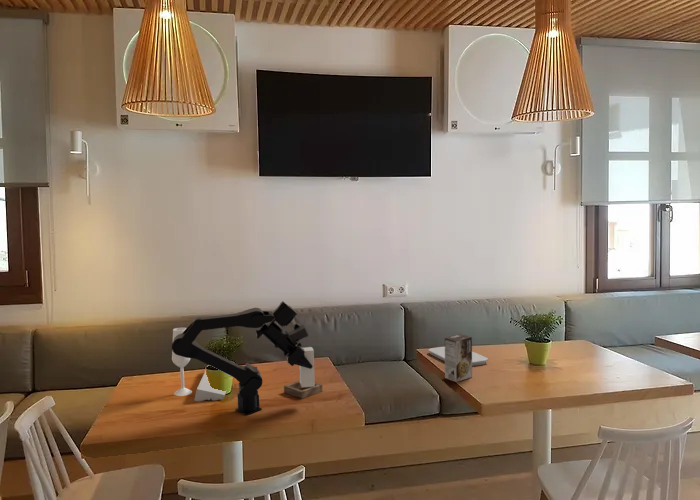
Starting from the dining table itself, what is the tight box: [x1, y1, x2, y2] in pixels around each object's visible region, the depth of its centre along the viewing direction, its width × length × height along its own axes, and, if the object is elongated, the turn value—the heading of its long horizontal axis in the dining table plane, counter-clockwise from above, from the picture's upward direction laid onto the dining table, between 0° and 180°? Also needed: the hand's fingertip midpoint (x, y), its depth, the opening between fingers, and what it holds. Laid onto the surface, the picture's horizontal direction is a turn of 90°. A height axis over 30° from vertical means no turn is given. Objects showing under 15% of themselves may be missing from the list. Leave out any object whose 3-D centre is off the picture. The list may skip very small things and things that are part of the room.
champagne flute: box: [171, 327, 193, 397], centre depth 208 cm, size 7×7×24 cm
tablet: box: [428, 345, 489, 367], centre depth 246 cm, size 16×26×2 cm, turn 21°
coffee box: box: [444, 333, 473, 383], centre depth 219 cm, size 9×6×16 cm
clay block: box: [298, 346, 316, 388], centre depth 194 cm, size 4×4×12 cm
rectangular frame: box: [283, 380, 323, 400], centre depth 207 cm, size 10×10×2 cm
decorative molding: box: [193, 370, 227, 402], centre depth 218 cm, size 34×5×10 cm
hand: (310, 365), depth 194 cm, fingers closed on clay block, 4 cm apart
